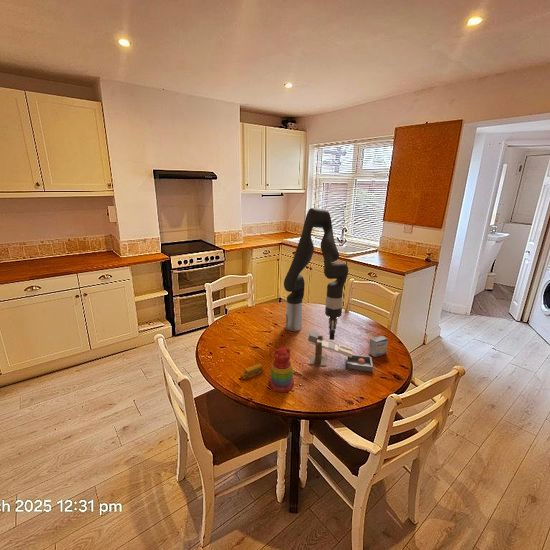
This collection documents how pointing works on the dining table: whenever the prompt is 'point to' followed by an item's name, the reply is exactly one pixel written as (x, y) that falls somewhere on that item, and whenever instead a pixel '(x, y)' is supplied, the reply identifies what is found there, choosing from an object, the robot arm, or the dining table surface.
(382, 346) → the medicine box
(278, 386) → the stacking bear
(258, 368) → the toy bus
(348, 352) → the tilt lever
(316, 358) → the fulcrum
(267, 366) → the dining table surface
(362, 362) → the ball
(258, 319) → the dining table surface
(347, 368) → the tray
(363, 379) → the dining table surface
